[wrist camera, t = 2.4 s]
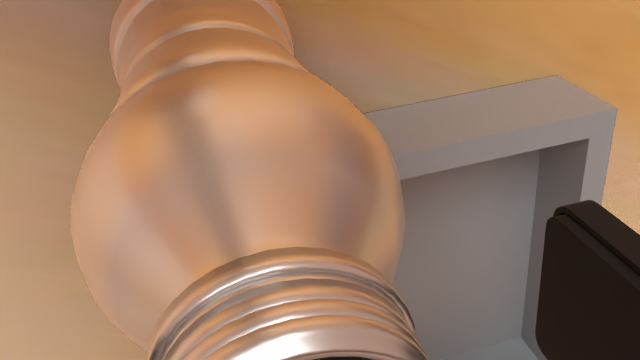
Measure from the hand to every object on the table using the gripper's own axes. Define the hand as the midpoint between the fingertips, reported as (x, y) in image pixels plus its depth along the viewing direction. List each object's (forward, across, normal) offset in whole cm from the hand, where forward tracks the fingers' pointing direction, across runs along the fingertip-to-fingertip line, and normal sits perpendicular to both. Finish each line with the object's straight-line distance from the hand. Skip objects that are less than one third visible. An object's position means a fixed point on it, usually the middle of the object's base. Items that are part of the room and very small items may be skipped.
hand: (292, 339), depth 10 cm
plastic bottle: (+18, 0, -1) cm, 18 cm away
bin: (+18, -8, +13) cm, 23 cm away
